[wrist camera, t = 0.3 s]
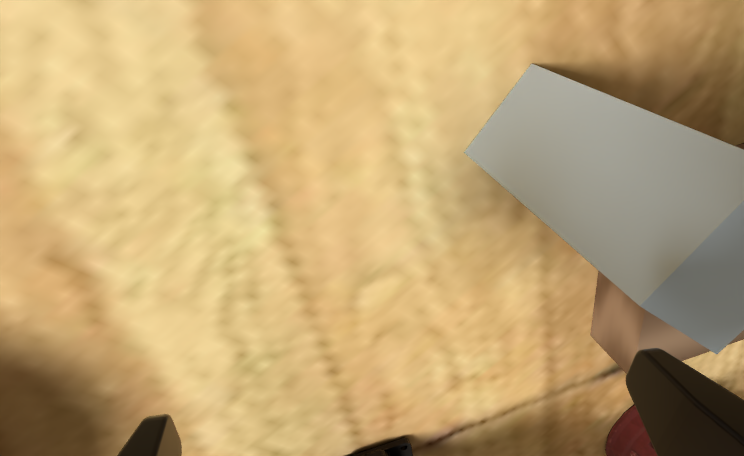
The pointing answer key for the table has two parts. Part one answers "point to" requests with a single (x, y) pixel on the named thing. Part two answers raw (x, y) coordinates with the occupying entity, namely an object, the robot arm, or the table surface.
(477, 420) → the table surface
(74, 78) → the table surface
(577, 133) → the slate pillar
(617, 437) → the lantern
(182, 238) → the table surface
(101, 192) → the table surface
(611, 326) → the walnut block
